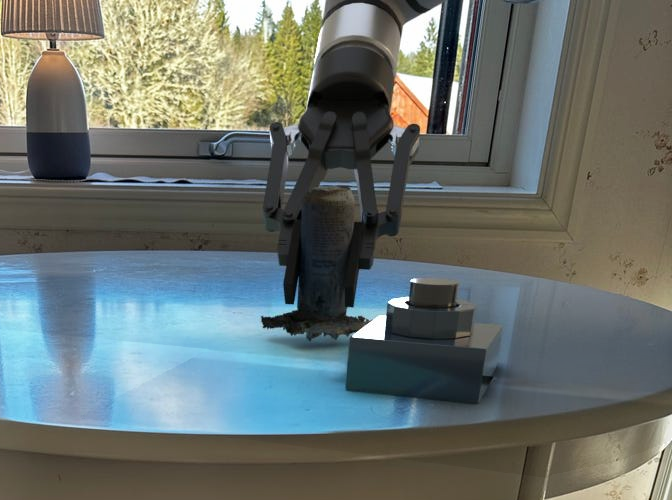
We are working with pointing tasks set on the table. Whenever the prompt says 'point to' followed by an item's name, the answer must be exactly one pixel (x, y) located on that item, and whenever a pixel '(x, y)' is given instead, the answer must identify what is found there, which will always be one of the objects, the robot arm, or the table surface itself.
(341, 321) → the beverage can
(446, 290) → the cylinder
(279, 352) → the table surface
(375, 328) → the grey stepped square block
